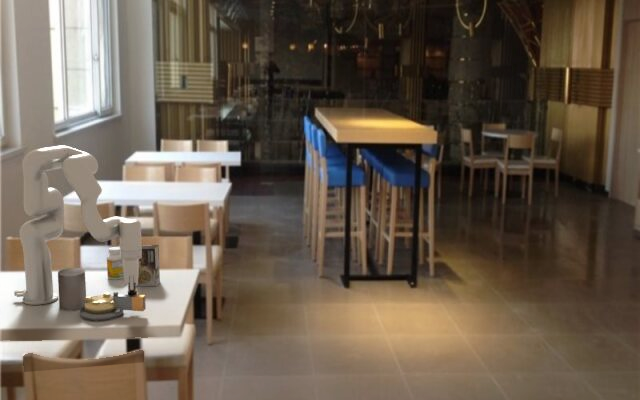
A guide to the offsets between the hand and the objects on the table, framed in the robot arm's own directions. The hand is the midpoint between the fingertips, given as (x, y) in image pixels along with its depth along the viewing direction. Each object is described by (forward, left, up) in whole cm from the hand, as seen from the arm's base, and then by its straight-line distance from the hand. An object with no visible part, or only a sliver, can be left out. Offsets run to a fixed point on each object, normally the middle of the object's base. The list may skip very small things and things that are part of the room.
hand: (132, 301), depth 260 cm
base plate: (-11, 0, -4) cm, 12 cm away
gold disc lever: (-6, -2, -2) cm, 7 cm away
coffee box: (+5, +34, -4) cm, 35 cm away
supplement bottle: (-8, +46, -4) cm, 47 cm away
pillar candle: (-22, +11, -4) cm, 25 cm away
